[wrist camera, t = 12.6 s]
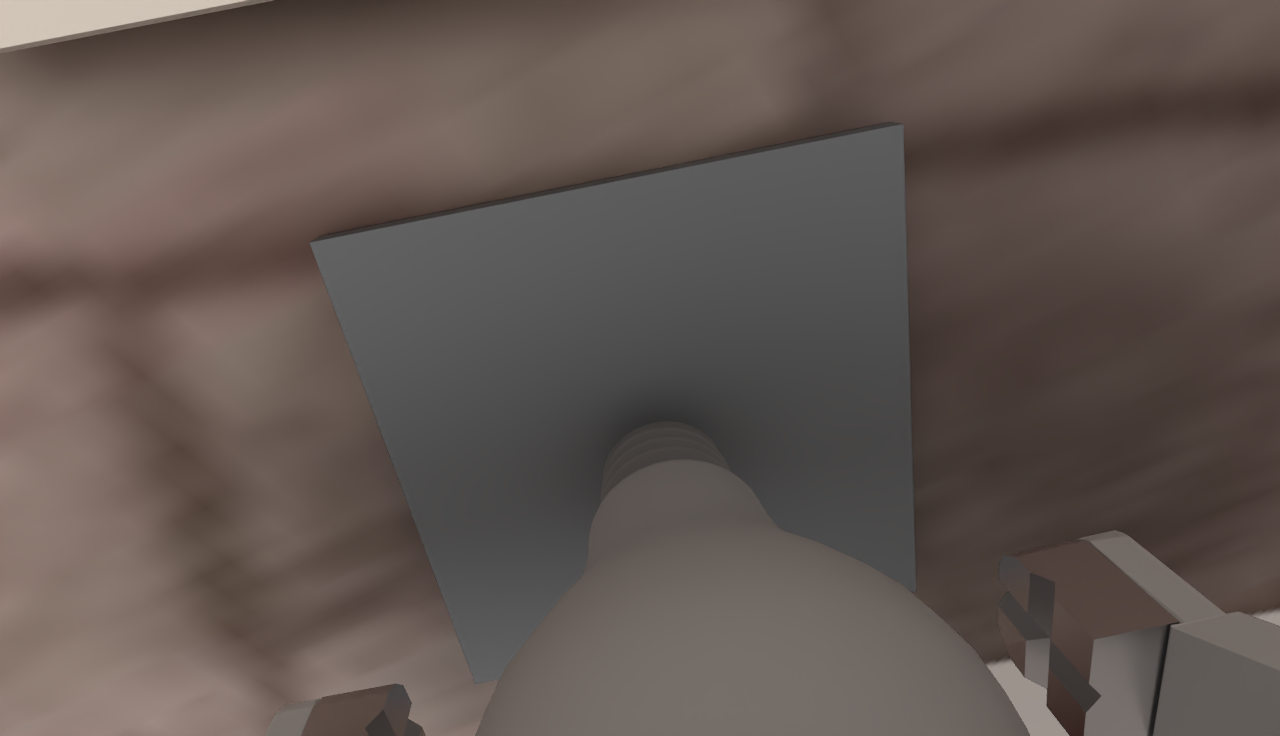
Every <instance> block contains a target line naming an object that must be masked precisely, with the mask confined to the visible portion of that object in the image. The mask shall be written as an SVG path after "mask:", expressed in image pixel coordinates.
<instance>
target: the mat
mask: <svg viewBox="0 0 1280 736" xmlns="http://www.w3.org/2000/svg"><path fill="white" fill-rule="evenodd" d="M310 245H311V248H312V251H313V253H314V256H315V259H316V261H317V264H318V267H319V269H320V272H321V275H322V277H323V280H324V283H325V285H326V288H327V291H328V293H329V296H330V299H331V301H332V304H333V307H334V309H335V312H336V315H337V317H338V320H339V323H340V325H341V328H342V331H343V333H344V336H345V339H346V341H347V344H348V347H349V349H350V352H351V355H352V357H353V360H354V362H355V365H356V368H357V370H358V373H359V376H360V378H361V381H362V384H363V386H364V389H365V392H366V394H367V397H368V400H369V402H370V405H371V408H372V410H373V413H374V416H375V418H376V421H377V424H378V426H379V429H380V432H381V434H382V437H383V440H384V442H385V445H386V448H387V450H388V453H389V456H390V458H391V461H392V464H393V466H394V469H395V472H396V474H397V477H398V480H399V482H400V485H401V488H402V490H403V493H404V496H405V498H406V501H407V504H408V506H409V509H410V512H411V514H412V517H413V519H414V522H415V525H416V527H417V530H418V533H419V535H420V538H421V541H422V543H423V546H424V549H425V551H426V554H427V557H428V559H429V562H430V565H431V567H432V570H433V573H434V575H435V578H436V581H437V583H438V586H439V589H440V591H441V594H442V597H443V599H444V602H445V605H446V607H447V610H448V613H449V615H450V618H451V621H452V623H453V626H454V629H455V631H456V634H457V637H458V639H459V642H460V645H461V647H462V650H463V653H464V655H465V658H466V661H467V663H468V666H469V668H470V671H471V674H472V676H473V679H474V682H475V684H478V683H483V682H488V681H492V680H497V679H500V678H501V676H502V673H503V671H504V669H505V668H506V667H507V665H508V664H509V663H510V661H511V660H512V659H513V657H514V656H515V655H516V654H517V652H518V651H519V650H520V648H521V647H522V646H523V644H524V643H525V642H526V641H527V639H528V638H529V637H530V635H531V634H532V633H533V632H534V630H535V629H536V628H537V627H538V625H539V624H540V623H541V622H542V620H543V619H544V618H545V617H546V615H547V614H548V613H549V612H550V610H551V609H552V608H553V607H554V605H555V604H556V603H557V602H558V601H559V599H560V598H561V597H562V596H563V594H565V593H566V592H567V591H568V590H569V589H570V588H571V587H572V586H573V585H574V584H575V583H576V582H577V581H578V580H579V579H580V578H581V577H582V575H583V573H584V570H585V567H586V563H587V559H588V546H589V534H590V530H591V525H592V521H593V519H594V517H595V515H596V512H597V510H598V508H599V506H600V503H601V488H602V478H603V469H604V464H605V461H606V459H607V457H608V455H609V452H610V451H611V450H612V448H613V447H614V446H615V444H616V443H617V442H618V441H619V440H620V439H621V438H622V437H624V436H625V435H626V434H628V433H629V432H631V431H632V430H634V429H636V428H638V427H641V426H643V425H646V424H650V423H655V422H662V421H673V422H679V423H684V424H687V425H690V426H693V427H695V428H697V429H699V430H700V431H702V432H704V433H705V434H706V435H707V436H708V437H709V438H710V439H711V440H712V441H713V442H714V444H715V445H716V447H717V448H718V450H719V451H720V453H721V454H722V456H723V457H724V458H725V461H726V463H727V465H728V467H729V468H730V470H731V472H732V473H733V474H735V475H736V476H737V477H739V478H740V479H741V480H742V481H743V482H744V483H745V484H747V485H748V486H749V487H750V488H751V490H752V491H753V492H754V494H755V495H756V497H757V498H758V500H759V501H760V503H761V505H762V506H763V508H764V510H765V511H766V513H767V515H768V516H769V517H770V518H771V519H772V521H773V522H774V523H775V524H776V525H777V526H778V527H779V528H781V529H782V530H783V531H786V532H789V533H792V534H795V535H798V536H801V537H805V538H808V539H811V540H814V541H817V542H819V543H821V544H824V545H826V546H828V547H830V548H832V549H835V550H837V551H839V552H841V553H843V554H846V555H848V556H850V557H852V558H854V559H857V560H859V561H861V562H863V563H865V564H867V565H869V566H871V567H872V568H874V569H876V570H878V571H879V572H881V573H883V574H885V575H886V576H888V577H890V578H892V579H893V580H895V581H897V582H899V583H900V584H902V585H903V586H905V587H906V588H907V589H908V590H909V591H910V592H915V591H916V564H915V528H914V492H913V456H912V420H911V384H910V348H909V312H908V276H907V240H906V204H905V168H904V132H903V124H900V123H891V122H888V123H883V124H878V125H873V126H868V127H863V128H858V129H853V130H848V131H843V132H838V133H833V134H828V135H823V136H818V137H813V138H808V139H803V140H798V141H793V142H788V143H783V144H778V145H773V146H768V147H763V148H758V149H753V150H748V151H743V152H738V153H733V154H728V155H723V156H718V157H713V158H708V159H703V160H698V161H693V162H688V163H683V164H678V165H673V166H668V167H663V168H658V169H653V170H648V171H643V172H638V173H633V174H628V175H623V176H618V177H613V178H608V179H603V180H598V181H593V182H588V183H583V184H578V185H573V186H568V187H563V188H558V189H553V190H548V191H543V192H538V193H533V194H528V195H523V196H518V197H513V198H508V199H503V200H498V201H493V202H488V203H483V204H478V205H473V206H468V207H463V208H458V209H453V210H448V211H443V212H438V213H433V214H428V215H423V216H418V217H413V218H408V219H403V220H398V221H393V222H388V223H383V224H378V225H373V226H368V227H363V228H358V229H353V230H348V231H343V232H338V233H333V234H328V235H323V236H320V237H318V238H316V239H315V240H313V241H311V242H310Z"/></svg>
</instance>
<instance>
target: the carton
mask: <svg viewBox="0 0 1280 736" xmlns="http://www.w3.org/2000/svg"><path fill="white" fill-rule="evenodd" d="M269 1H274V0H0V54H1V53H6V52H12V51H17V50H22V49H27V48H32V47H37V46H43V45H48V44H53V43H58V42H63V41H68V40H73V39H79V38H84V37H89V36H94V35H99V34H104V33H109V32H115V31H120V30H125V29H130V28H135V27H140V26H145V25H151V24H156V23H161V22H166V21H171V20H176V19H181V18H187V17H192V16H197V15H202V14H207V13H212V12H217V11H223V10H228V9H233V8H238V7H243V6H248V5H254V4H259V3H264V2H269Z"/></svg>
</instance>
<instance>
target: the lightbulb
mask: <svg viewBox="0 0 1280 736" xmlns="http://www.w3.org/2000/svg"><path fill="white" fill-rule="evenodd" d="M475 736H1030V734H1029V732H1028V730H1027V728H1026V726H1025V725H1024V723H1023V721H1022V719H1021V718H1020V716H1019V714H1018V713H1017V711H1016V709H1015V708H1014V706H1013V704H1012V702H1011V701H1010V699H1009V697H1008V696H1007V694H1006V692H1005V691H1004V690H1003V688H1002V687H1001V686H1000V684H999V683H998V681H997V680H996V678H995V677H994V676H993V674H992V673H991V672H990V670H989V669H988V667H987V666H986V665H985V663H984V662H983V660H982V659H981V658H980V656H979V655H978V653H977V652H976V651H975V649H973V648H972V647H971V646H970V645H969V644H968V643H967V642H966V641H965V640H964V639H963V638H962V637H961V636H960V635H959V634H958V633H957V632H956V631H954V630H953V629H952V628H951V627H950V626H949V625H948V624H947V623H946V622H945V621H944V620H943V619H942V618H941V617H939V616H938V615H937V614H936V613H935V612H934V611H932V610H931V609H930V608H929V607H928V606H927V605H925V604H924V603H923V602H922V601H921V600H920V599H919V598H917V597H916V596H915V595H914V594H913V593H912V592H910V591H909V590H908V589H907V588H906V587H905V586H903V585H902V584H900V583H899V582H897V581H895V580H893V579H892V578H890V577H888V576H886V575H885V574H883V573H881V572H879V571H878V570H876V569H874V568H872V567H871V566H869V565H867V564H865V563H863V562H861V561H859V560H857V559H854V558H852V557H850V556H848V555H846V554H843V553H841V552H839V551H837V550H835V549H832V548H830V547H828V546H826V545H824V544H821V543H819V542H817V541H814V540H811V539H808V538H805V537H801V536H798V535H795V534H792V533H789V532H786V531H783V530H782V529H781V528H779V527H778V526H777V525H776V524H775V523H774V522H773V521H772V519H771V518H770V517H769V516H768V515H767V513H766V511H765V510H764V508H763V506H762V505H761V503H760V501H759V500H758V498H757V497H756V495H755V494H754V492H753V491H752V490H751V488H750V487H749V486H748V485H747V484H745V483H744V482H743V481H742V480H741V479H740V478H739V477H737V476H736V475H735V474H733V473H732V472H731V470H730V468H729V467H728V465H727V463H726V461H725V458H724V457H723V456H722V454H721V453H720V451H719V450H718V448H717V447H716V445H715V444H714V442H713V441H712V440H711V439H710V438H709V437H708V436H707V435H706V434H705V433H704V432H702V431H700V430H699V429H697V428H695V427H693V426H690V425H687V424H684V423H679V422H673V421H662V422H655V423H650V424H646V425H643V426H641V427H638V428H636V429H634V430H632V431H631V432H629V433H628V434H626V435H625V436H624V437H622V438H621V439H620V440H619V441H618V442H617V443H616V444H615V446H614V447H613V448H612V450H611V451H610V452H609V455H608V457H607V459H606V461H605V464H604V469H603V478H602V488H601V503H600V506H599V508H598V510H597V512H596V515H595V517H594V519H593V521H592V525H591V530H590V534H589V546H588V559H587V563H586V567H585V570H584V573H583V575H582V577H581V578H580V579H579V580H578V581H577V582H576V583H575V584H574V585H573V586H572V587H571V588H570V589H569V590H568V591H567V592H566V593H565V594H563V596H562V597H561V598H560V599H559V601H558V602H557V603H556V604H555V605H554V607H553V608H552V609H551V610H550V612H549V613H548V614H547V615H546V617H545V618H544V619H543V620H542V622H541V623H540V624H539V625H538V627H537V628H536V629H535V630H534V632H533V633H532V634H531V635H530V637H529V638H528V639H527V641H526V642H525V643H524V644H523V646H522V647H521V648H520V650H519V651H518V652H517V654H516V655H515V656H514V657H513V659H512V660H511V661H510V663H509V664H508V665H507V667H506V668H505V669H504V671H503V673H502V676H501V678H500V680H499V682H498V684H497V687H496V689H495V691H494V693H493V695H492V697H491V700H490V702H489V704H488V706H487V709H486V711H485V713H484V716H483V718H482V721H481V723H480V725H479V728H478V730H477V733H476V735H475Z"/></svg>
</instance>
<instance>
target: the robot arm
mask: <svg viewBox="0 0 1280 736" xmlns="http://www.w3.org/2000/svg"><path fill="white" fill-rule="evenodd" d="M998 579H999V580H1000V582H1001V583H1002V584H1003V585H1004V586H1005V587H1006V589H1007V590H1008V592H1007V593H1006V594H1005V596H1004V597H1003V598H1002V600H1001V601H1000V602H999V604H998V627H999V630H1000V633H1001V637H1002V640H1003V643H1004V646H1005V648H1006V650H1007V652H1008V654H1009V655H1010V657H1011V659H1012V661H1013V662H1014V664H1015V665H1016V666H1017V668H1018V669H1019V670H1020V672H1021V673H1022V675H1023V676H1024V677H1025V678H1027V679H1029V680H1031V681H1033V682H1035V683H1037V684H1039V685H1041V686H1043V687H1045V688H1046V689H1047V707H1048V709H1049V710H1050V711H1051V712H1052V714H1053V715H1054V716H1055V717H1056V718H1057V720H1058V721H1059V723H1060V724H1061V725H1062V727H1063V728H1064V729H1065V730H1066V732H1067V733H1068V734H1069V736H1280V626H1278V625H1275V624H1272V623H1270V622H1267V621H1264V620H1261V619H1258V618H1256V617H1253V616H1250V615H1247V614H1244V613H1241V612H1233V613H1228V614H1226V613H1225V612H1223V611H1222V610H1221V609H1220V608H1218V607H1217V606H1216V605H1215V604H1213V603H1212V602H1211V601H1209V600H1208V599H1207V598H1206V597H1204V596H1203V595H1202V594H1201V593H1199V592H1198V591H1197V590H1196V589H1194V588H1193V587H1192V586H1191V585H1189V584H1188V583H1187V582H1186V581H1184V580H1183V579H1182V578H1181V577H1179V576H1178V575H1177V574H1176V573H1174V572H1173V571H1172V570H1171V569H1169V568H1168V567H1167V566H1166V565H1164V564H1163V563H1162V562H1161V561H1159V560H1158V559H1157V558H1156V557H1154V556H1153V555H1152V554H1151V553H1149V552H1148V551H1147V550H1146V549H1144V548H1143V547H1142V546H1141V545H1139V544H1138V543H1137V542H1136V541H1134V540H1133V539H1132V538H1131V537H1129V536H1128V535H1126V534H1124V533H1122V532H1119V531H1116V530H1113V531H1109V532H1104V533H1100V534H1095V535H1091V536H1087V537H1082V538H1078V539H1076V540H1070V541H1065V542H1061V543H1056V544H1052V545H1047V546H1043V547H1038V548H1034V549H1029V550H1025V551H1020V552H1015V553H1011V554H1006V555H1004V556H1003V557H1002V559H1001V561H1000V563H999V576H998ZM411 704H412V703H411V701H410V699H409V696H408V694H407V692H406V690H405V688H404V686H403V685H399V684H391V685H385V686H380V687H375V688H369V689H364V690H358V691H353V692H348V693H342V694H337V695H331V696H326V697H322V698H321V699H315V700H309V701H304V702H298V703H292V704H287V705H284V706H283V707H282V708H281V709H280V710H279V711H278V712H277V713H275V715H274V716H273V718H272V721H271V723H270V725H269V727H268V729H267V731H266V733H265V735H264V736H426V735H425V733H424V730H423V728H422V727H421V726H420V725H418V724H416V723H414V722H413V721H411V720H409V719H408V716H409V712H410V708H411Z"/></svg>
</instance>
